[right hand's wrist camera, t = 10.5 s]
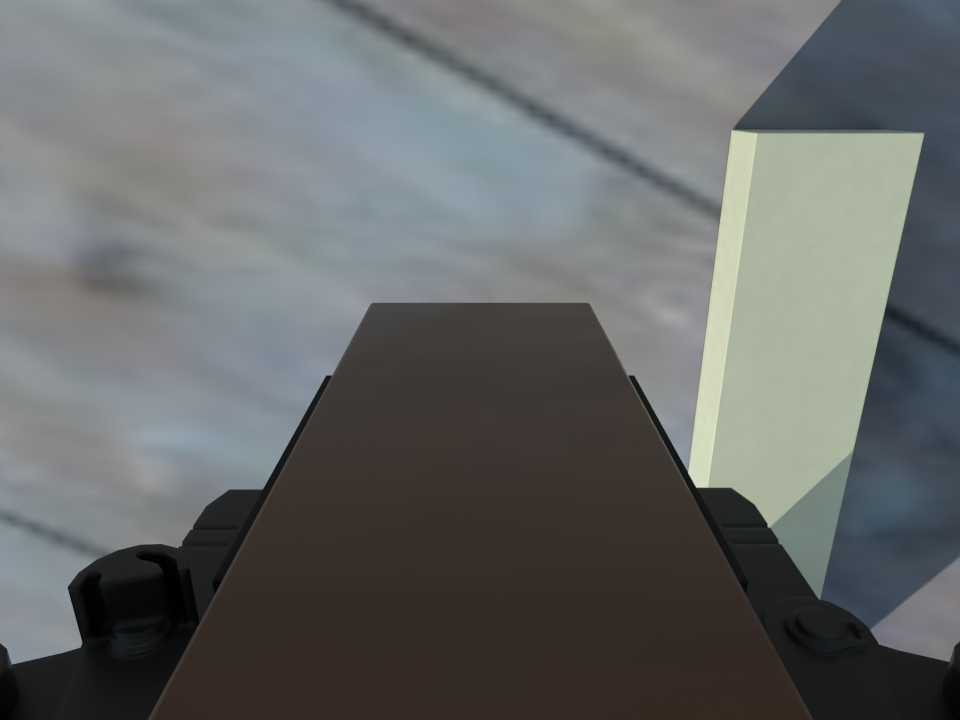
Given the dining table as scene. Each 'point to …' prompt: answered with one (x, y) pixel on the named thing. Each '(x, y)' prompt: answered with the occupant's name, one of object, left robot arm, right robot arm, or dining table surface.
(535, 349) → the walnut block
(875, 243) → the pale green l-shaped block
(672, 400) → the dining table surface
